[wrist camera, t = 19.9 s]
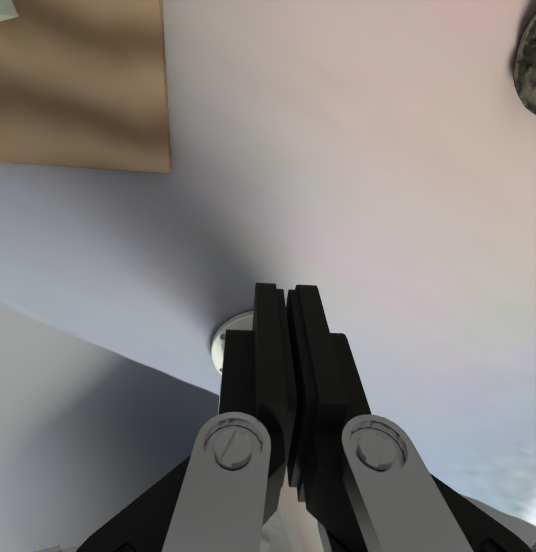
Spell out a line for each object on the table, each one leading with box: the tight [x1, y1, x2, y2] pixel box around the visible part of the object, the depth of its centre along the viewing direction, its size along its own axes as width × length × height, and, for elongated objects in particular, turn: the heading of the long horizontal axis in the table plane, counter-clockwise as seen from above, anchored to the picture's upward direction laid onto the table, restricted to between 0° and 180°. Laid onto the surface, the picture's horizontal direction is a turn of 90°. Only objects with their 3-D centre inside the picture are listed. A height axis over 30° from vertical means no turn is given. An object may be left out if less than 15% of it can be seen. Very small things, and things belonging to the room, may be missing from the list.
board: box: [0, 0, 171, 173], centre depth 28 cm, size 22×22×1 cm
